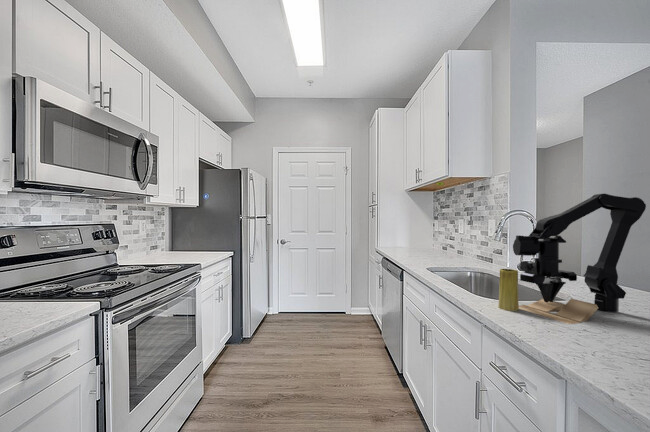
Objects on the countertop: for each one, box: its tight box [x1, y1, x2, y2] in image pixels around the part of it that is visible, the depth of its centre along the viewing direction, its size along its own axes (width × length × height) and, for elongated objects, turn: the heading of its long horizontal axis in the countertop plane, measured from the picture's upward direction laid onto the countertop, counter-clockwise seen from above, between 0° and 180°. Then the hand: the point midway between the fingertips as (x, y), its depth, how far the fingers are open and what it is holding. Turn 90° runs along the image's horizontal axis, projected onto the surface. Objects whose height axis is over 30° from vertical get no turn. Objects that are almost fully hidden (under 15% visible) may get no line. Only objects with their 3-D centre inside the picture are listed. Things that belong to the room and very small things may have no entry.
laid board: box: [519, 304, 583, 325], centre depth 105 cm, size 5×20×2 cm, turn 17°
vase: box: [498, 268, 520, 312], centre depth 110 cm, size 6×6×14 cm
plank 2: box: [556, 298, 598, 323], centre depth 101 cm, size 8×8×1 cm
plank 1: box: [526, 298, 566, 313], centre depth 112 cm, size 8×8×1 cm
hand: (548, 302), depth 113 cm, fingers closed
